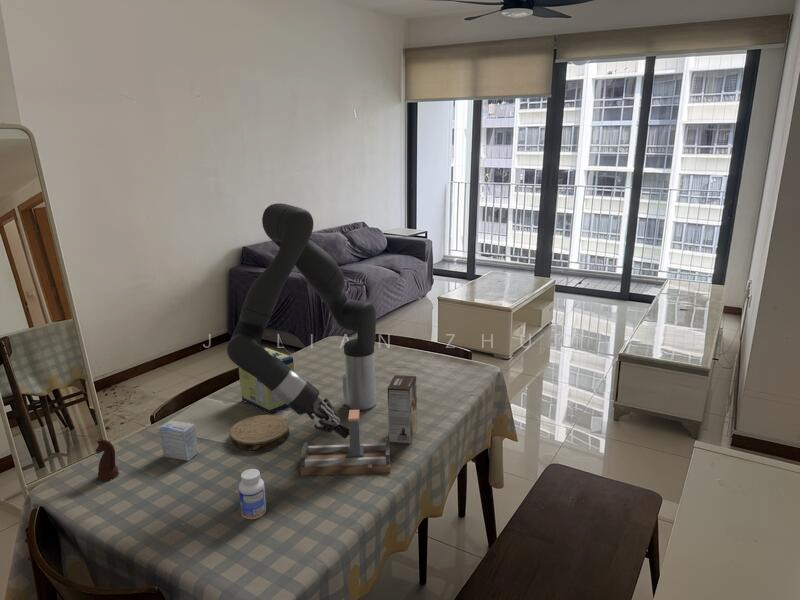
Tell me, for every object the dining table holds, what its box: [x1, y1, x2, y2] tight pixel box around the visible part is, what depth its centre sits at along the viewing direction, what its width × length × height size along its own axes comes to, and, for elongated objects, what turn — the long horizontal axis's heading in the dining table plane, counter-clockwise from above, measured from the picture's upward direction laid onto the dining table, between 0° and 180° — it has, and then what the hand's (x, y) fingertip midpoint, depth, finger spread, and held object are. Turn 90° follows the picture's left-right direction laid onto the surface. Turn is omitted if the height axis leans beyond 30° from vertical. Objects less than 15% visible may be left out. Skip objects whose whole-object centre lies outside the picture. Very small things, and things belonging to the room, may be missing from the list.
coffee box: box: [387, 374, 418, 444], centre depth 152 cm, size 9×6×16 cm
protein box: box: [238, 346, 295, 414], centre depth 174 cm, size 10×16×16 cm
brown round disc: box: [229, 414, 290, 453], centre depth 155 cm, size 16×16×3 cm
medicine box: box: [159, 420, 199, 462], centre depth 145 cm, size 8×4×9 cm, turn 71°
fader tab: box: [347, 409, 364, 458], centre depth 139 cm, size 4×5×12 cm
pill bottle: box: [238, 468, 267, 520], centre depth 121 cm, size 5×5×10 cm
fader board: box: [299, 439, 391, 476], centre depth 141 cm, size 22×10×4 cm, turn 92°
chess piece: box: [95, 438, 120, 482], centre depth 136 cm, size 5×5×10 cm
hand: (347, 434), depth 139 cm, fingers closed
